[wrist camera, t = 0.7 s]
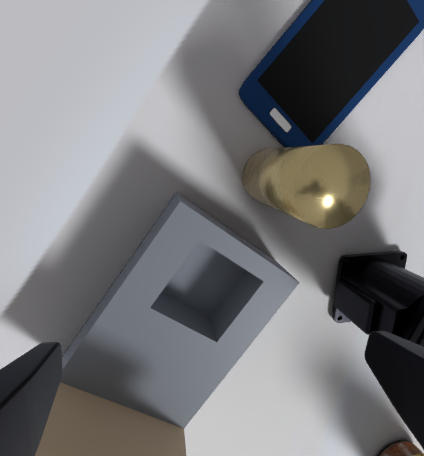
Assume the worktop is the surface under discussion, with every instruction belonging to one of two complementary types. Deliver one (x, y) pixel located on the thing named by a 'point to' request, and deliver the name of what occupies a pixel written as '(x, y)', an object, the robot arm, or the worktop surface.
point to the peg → (310, 182)
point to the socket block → (163, 338)
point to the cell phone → (328, 65)
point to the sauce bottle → (402, 449)
